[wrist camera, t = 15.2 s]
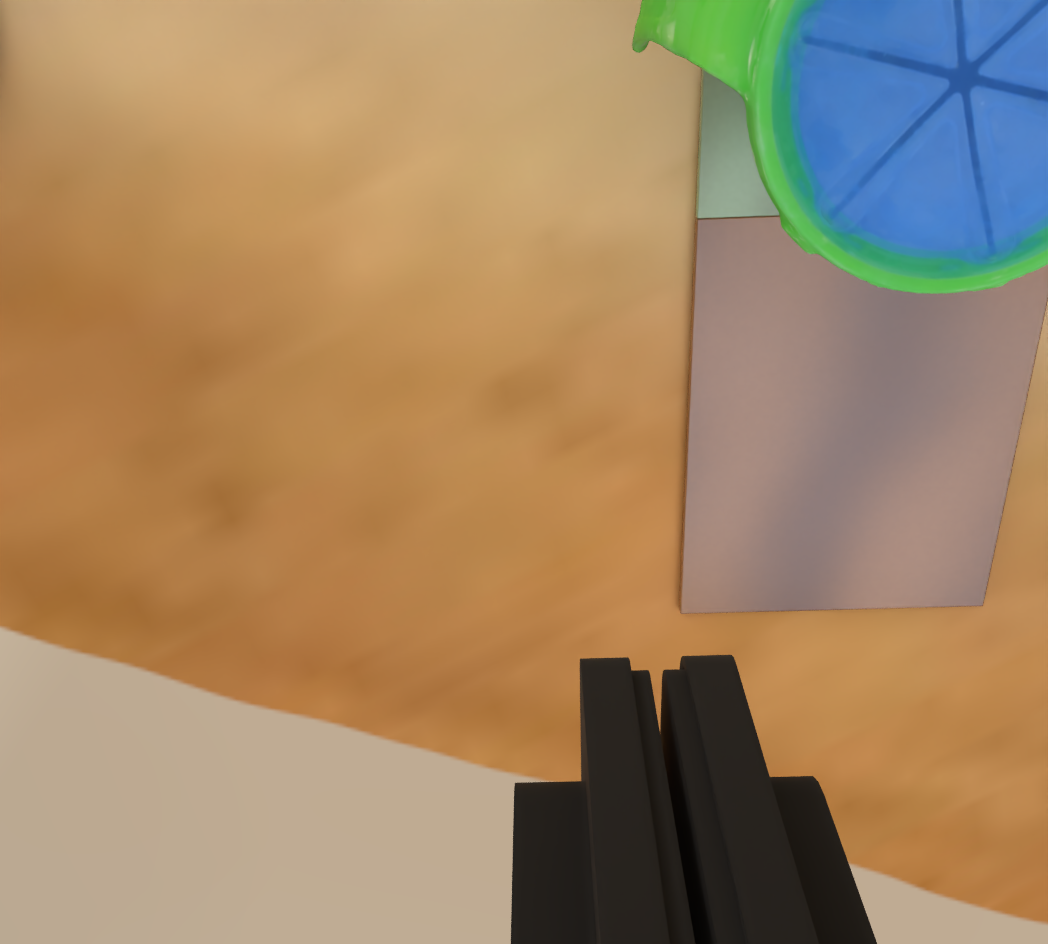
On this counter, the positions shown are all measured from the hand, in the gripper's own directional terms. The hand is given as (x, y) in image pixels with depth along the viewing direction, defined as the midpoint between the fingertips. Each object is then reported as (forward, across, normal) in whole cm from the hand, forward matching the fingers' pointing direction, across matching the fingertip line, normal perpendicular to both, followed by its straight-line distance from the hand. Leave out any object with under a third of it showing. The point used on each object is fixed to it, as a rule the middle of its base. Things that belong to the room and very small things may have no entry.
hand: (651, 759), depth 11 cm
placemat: (+27, -11, +3) cm, 29 cm away
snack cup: (+27, -9, -5) cm, 29 cm away
